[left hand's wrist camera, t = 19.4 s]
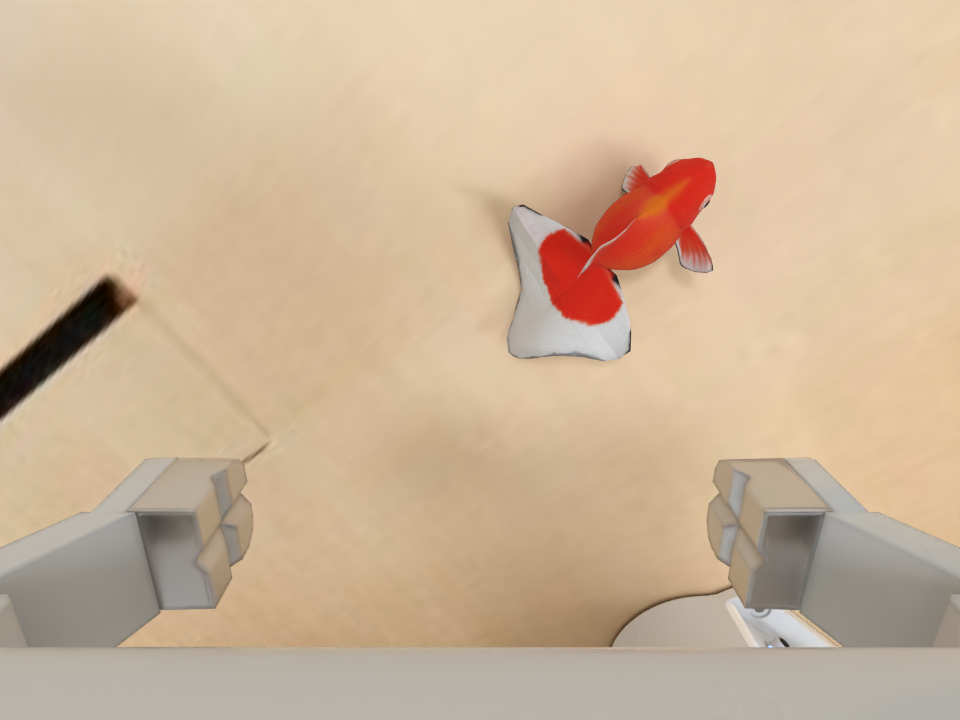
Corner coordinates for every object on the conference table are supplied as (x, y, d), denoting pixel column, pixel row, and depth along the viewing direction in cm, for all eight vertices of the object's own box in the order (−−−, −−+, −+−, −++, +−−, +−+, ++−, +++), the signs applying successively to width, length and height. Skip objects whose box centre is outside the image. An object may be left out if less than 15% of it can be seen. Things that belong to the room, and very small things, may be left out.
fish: (780, 295, 35) (756, 326, 27) (560, 370, 44) (491, 411, 36) (713, 126, 35) (669, 106, 27) (505, 237, 44) (424, 247, 36)
